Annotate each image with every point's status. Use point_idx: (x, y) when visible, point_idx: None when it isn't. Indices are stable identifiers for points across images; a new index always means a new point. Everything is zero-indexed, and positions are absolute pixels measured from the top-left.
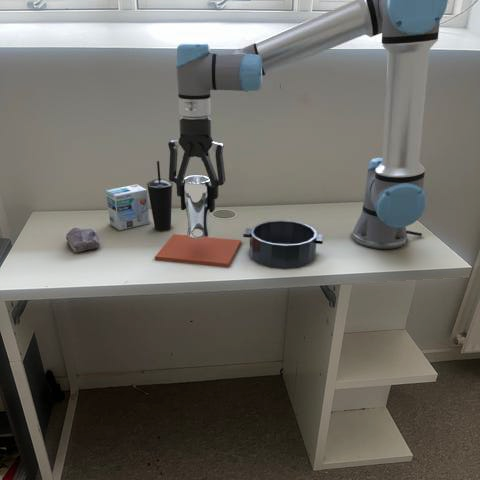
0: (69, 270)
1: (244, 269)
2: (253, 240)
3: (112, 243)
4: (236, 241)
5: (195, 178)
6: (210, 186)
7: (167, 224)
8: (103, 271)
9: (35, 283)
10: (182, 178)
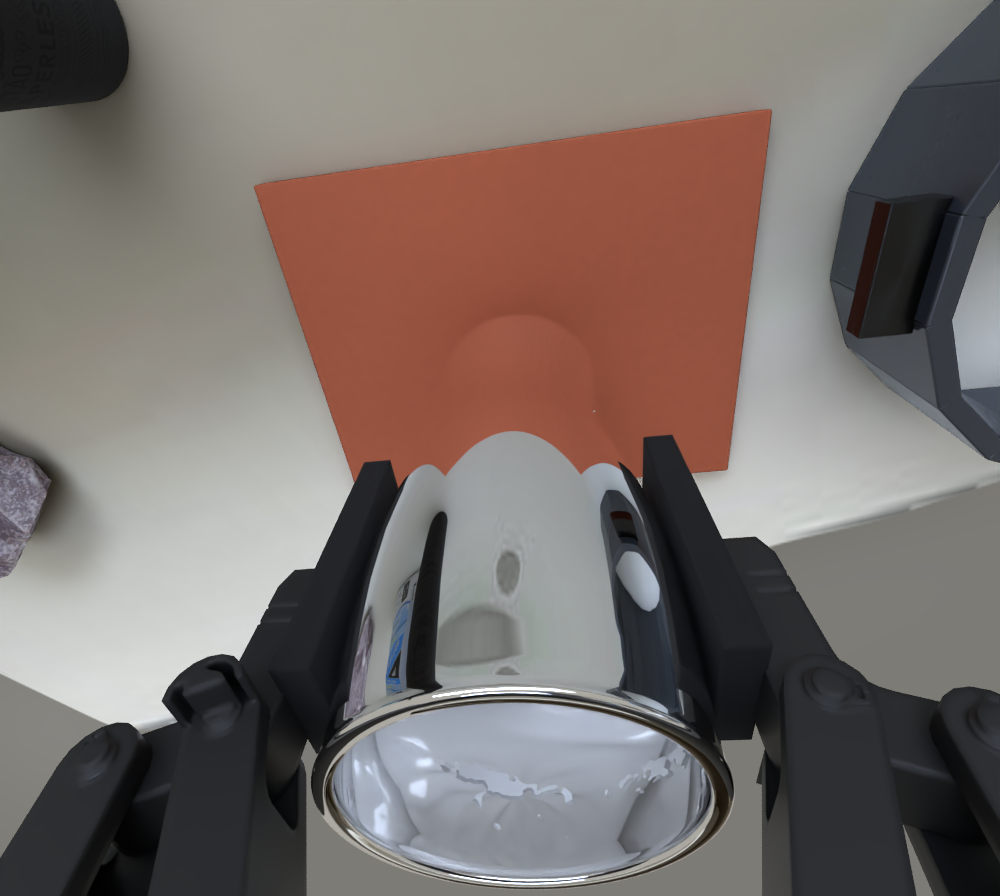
0: (152, 629)
1: (802, 457)
2: (928, 404)
3: (44, 396)
4: (737, 154)
5: (414, 665)
6: (722, 712)
7: (97, 56)
8: (257, 609)
9: (150, 699)
10: (254, 757)
